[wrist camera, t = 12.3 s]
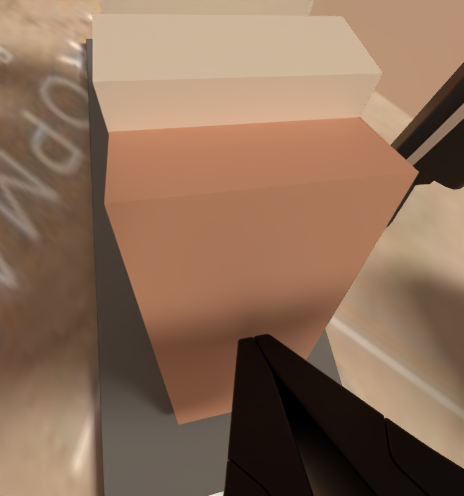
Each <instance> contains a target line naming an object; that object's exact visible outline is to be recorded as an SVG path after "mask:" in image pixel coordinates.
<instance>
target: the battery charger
mask: <svg viewBox="0 0 464 496" xmlns="http://www.w3.org/2000/svg"><path fill="white" fill-rule="evenodd" d="M390 146H391V147H393V148H394V149H395V150H396V151H397V152H398V153H399V154H400V155H401V156H402V157H403V158H404V159H405V160H407V161H408V162H409V163H410V164H411V165H412V166H413V167H414V168H415V169H416V170H417V171H418V172H419V173H418V175H417V176H416V178H415V180H414V181H413V183H412V185H411V186H410V188H409V190H408V191H407V193H406V195H405V196H404V198H403V200H402V201H401V203H400V205H399V206H398V208H397V210H396V211H395V213H394V215H393V216H392V218H391V220H390V221H389V223H388V225H387V226H386V227H388V226H389V225H390V224H391V222H392V221H393V220H394V218H395V216H396V215H397V213H398V212H399V210H400V209H401V207H402V206H403V204H404V202H405V201H406V199H407V198H408V196H409V195H410V193H411V191H412V190H413V188H414V187H415V185H422V184H430V183H432V182H433V181H434V180H435V181H436V182H438V183H440V184H441V185H443V186H445V187H448V188H451V189H454V190H455V189H461V188H462V187H464V63H463V64H462V65H461V66H460V67H459V68H458V69H457V70H456V72H455V73H454V74H453V75H452V76H451V78H449V80H448V81H447V82H446V83H445V84H444V85H443V86H442V87H441V89H440V90H439V91H438V92H437V93H436V94H435V95H434V96H433V98H432V99H431V100H430V101H429V102H428V103H427V104H426V106H425V107H424V108H423V109H422V110H421V111H420V112H419V114H418V115H417V116H416V117H415V118H414V119H413V120H412V122H411V123H410V124H409V125H408V126H407V127H406V128H405V129H404V131H403V132H402V133H401V134H400V135H399V136H398V137H397V139H396V140H395V141H394V142H393V143H392V144H391V145H390Z"/></svg>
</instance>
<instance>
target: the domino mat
mask: <svg viewBox="0 0 464 496" xmlns="http://www.w3.org/2000/svg"><path fill="white" fill-rule="evenodd" d="M86 46H87V71H88V96H89V122H90V147H91V172H92V197H93V222H94V247H95V272H96V297H97V322H98V347H99V372H100V397H101V423H102V448H103V473H104V496H208V495H212V494H215V493H219V492H222V491H224V487H225V477H226V465H227V462H228V460H227V457H228V445H229V434H230V423H231V412H230V413H225V414H221V415H217V416H213V417H209V418H205V419H201V420H197V421H192V422H188V423H184V424H180V425H178V422H177V419H176V416H175V413H174V410H173V407H172V404H171V401H170V398H169V395H168V392H167V389H166V386H165V383H164V380H163V377H162V374H161V371H160V368H159V365H158V362H157V359H156V356H155V353H154V350H153V347H152V344H151V341H150V338H149V335H148V333H147V330H146V327H145V324H144V321H143V318H142V315H141V312H140V309H139V306H138V303H137V300H136V297H135V294H134V291H133V288H132V285H131V282H130V279H129V276H128V273H127V270H126V267H125V264H124V261H123V258H122V255H121V252H120V249H119V246H118V243H117V241H116V238H115V235H114V232H113V229H112V226H111V223H110V220H109V217H108V214H107V211H106V208H105V205H104V199H105V185H106V170H107V156H108V141H109V133H108V130H107V127H106V124H105V120H104V117H103V114H102V111H101V108H100V104H99V101H98V98H97V95H96V91H95V88H94V85H93V39H86ZM306 361H308V362H309V363H311V364H312V365H313V366H315V367H316V368H318V369H319V370H321V371H322V372H323V373H325V374H326V375H328V376H329V377H330V378H332V379H333V380H335V381H336V382H337V383H339V384H340V385H342V384H341V380H340V377H339V374H338V370H337V367H336V363H335V360H334V357H333V353H332V350H331V347H330V343H329V340H328V337H327V333H326V330H325V329H324V331H323V333H322V334H321V336H320V338H319V339H318V341H317V343H316V344H315V346H314V348H313V349H312V351H311V353H310V354H309V356H308V358H307V359H306Z"/></svg>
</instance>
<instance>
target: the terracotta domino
mask: <svg viewBox="0 0 464 496" xmlns="http://www.w3.org/2000/svg"><path fill="white" fill-rule="evenodd" d="M418 173H419V172H418V171H417V170H416V169H415V168H414V167H413V166H412V165H411V164H410V163H409V162H408V161H407V160H405V159H404V158H403V157H402V156H401V155H400V154H399V153H398V152H397V151H396V150H395V149H394V148H393V147H391V146H390V145H389V144H388V143H387V142H386V141H385V140H384V139H383V138H382V137H381V136H380V135H379V134H377V133H376V132H375V131H374V130H373V129H372V128H371V127H370V126H369V125H368V124H367V123H366V122H365V121H363V120H362V119H361V118H360V117H354V118H337V119H320V120H303V121H286V122H269V123H252V124H235V125H218V126H200V127H183V128H166V129H149V130H132V131H115V132H109V141H108V156H107V170H106V185H105V199H104V205H105V208H106V211H107V214H108V217H109V220H110V223H111V226H112V229H113V232H114V235H115V238H116V241H117V243H118V246H119V249H120V252H121V255H122V258H123V261H124V264H125V267H126V270H127V273H128V276H129V279H130V282H131V285H132V288H133V291H134V294H135V297H136V300H137V303H138V306H139V309H140V312H141V315H142V318H143V321H144V324H145V327H146V330H147V333H148V335H149V338H150V341H151V344H152V347H153V350H154V353H155V356H156V359H157V362H158V365H159V368H160V371H161V374H162V377H163V380H164V383H165V386H166V389H167V392H168V395H169V398H170V401H171V404H172V407H173V410H174V413H175V416H176V419H177V422H178V425H180V424H184V423H188V422H192V421H197V420H201V419H205V418H209V417H213V416H217V415H221V414H225V413H230V412H231V411H232V400H233V389H234V378H235V366H236V355H237V344H238V340H239V339H241V338H247V337H253V338H254V337H255V336H257V335H262V334H270V335H271V336H273V337H274V338H276V339H277V340H278V341H280V342H281V343H283V344H284V345H285V346H287V347H288V348H290V349H291V350H292V351H294V352H295V353H297V354H298V355H299V356H301V357H302V358H304V359H305V360H306V359H307V358H308V356H309V354H310V353H311V351H312V349H313V348H314V346H315V344H316V343H317V341H318V339H319V338H320V336H321V334H322V333H323V331H324V329H325V328H326V326H327V324H328V323H329V321H330V319H331V318H332V316H333V314H334V313H335V311H336V309H337V308H338V306H339V304H340V303H341V301H342V299H343V298H344V296H345V294H346V293H347V291H348V289H349V288H350V286H351V284H352V283H353V281H354V279H355V278H356V276H357V274H358V273H359V271H360V269H361V268H362V266H363V264H364V263H365V261H366V260H367V258H368V256H369V255H370V253H371V251H372V250H373V248H374V246H375V245H376V243H377V241H378V240H379V238H380V236H381V235H382V233H383V231H384V230H385V228H386V226H387V225H388V223H389V221H390V220H391V218H392V216H393V215H394V213H395V211H396V210H397V208H398V206H399V205H400V203H401V201H402V200H403V198H404V196H405V195H406V193H407V191H408V190H409V188H410V186H411V185H412V183H413V181H414V180H415V178H416V176H417V175H418Z"/></svg>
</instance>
